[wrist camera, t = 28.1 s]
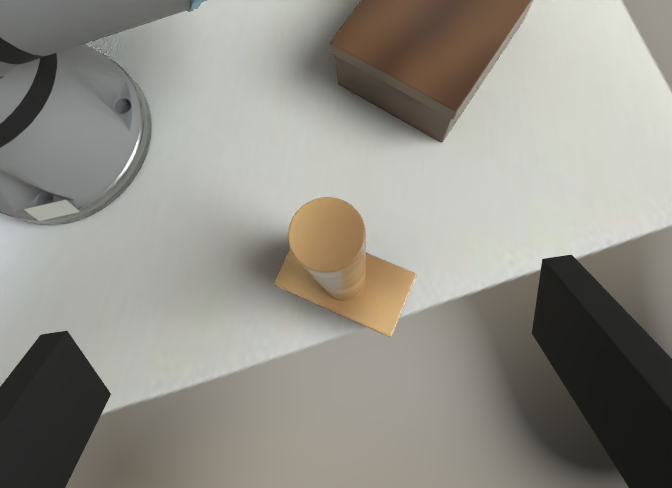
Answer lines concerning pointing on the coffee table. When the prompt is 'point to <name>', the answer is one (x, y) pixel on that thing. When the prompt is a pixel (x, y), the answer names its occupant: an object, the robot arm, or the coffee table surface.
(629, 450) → the robot arm
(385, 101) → the walnut box
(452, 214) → the coffee table surface
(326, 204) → the brush
